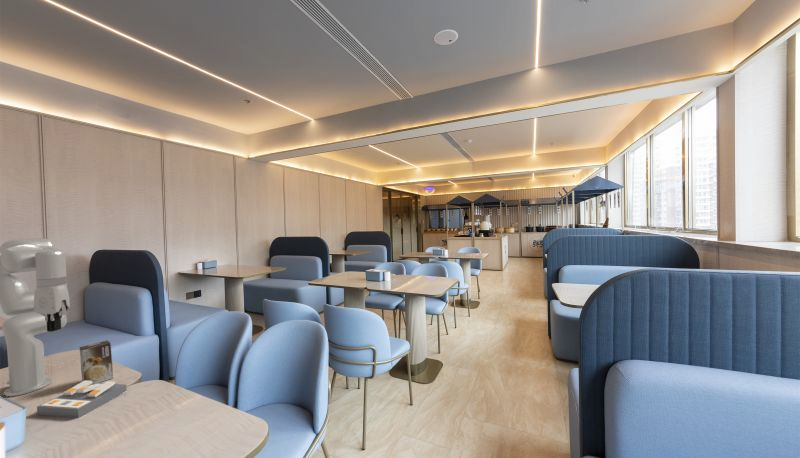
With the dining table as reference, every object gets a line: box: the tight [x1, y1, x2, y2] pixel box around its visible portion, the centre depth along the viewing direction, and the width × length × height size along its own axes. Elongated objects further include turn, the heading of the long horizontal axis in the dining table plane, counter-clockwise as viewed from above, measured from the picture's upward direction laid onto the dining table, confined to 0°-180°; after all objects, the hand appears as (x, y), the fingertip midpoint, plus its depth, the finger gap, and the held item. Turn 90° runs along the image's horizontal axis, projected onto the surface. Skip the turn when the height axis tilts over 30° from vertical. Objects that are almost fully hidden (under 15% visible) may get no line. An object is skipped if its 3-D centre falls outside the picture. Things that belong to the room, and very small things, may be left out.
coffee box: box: [79, 340, 114, 383], centre depth 130 cm, size 9×6×16 cm
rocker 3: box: [87, 380, 116, 397], centre depth 114 cm, size 4×7×1 cm, turn 172°
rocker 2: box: [76, 384, 102, 393], centre depth 116 cm, size 4×7×1 cm, turn 172°
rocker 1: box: [62, 380, 92, 395], centre depth 116 cm, size 4×7×1 cm, turn 172°
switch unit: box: [36, 382, 128, 419], centre depth 113 cm, size 18×16×4 cm
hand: (54, 330), depth 113 cm, fingers closed
